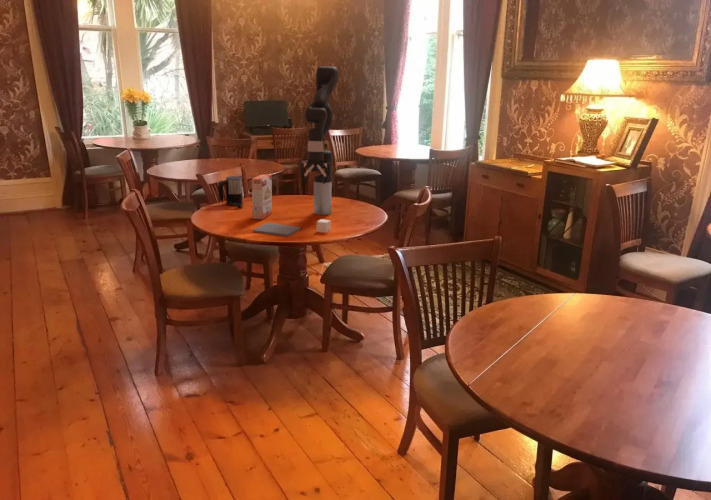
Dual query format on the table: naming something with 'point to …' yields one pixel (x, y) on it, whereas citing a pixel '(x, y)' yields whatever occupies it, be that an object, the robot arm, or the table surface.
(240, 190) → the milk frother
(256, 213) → the cracker box
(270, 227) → the slate mat
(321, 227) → the cream cube
